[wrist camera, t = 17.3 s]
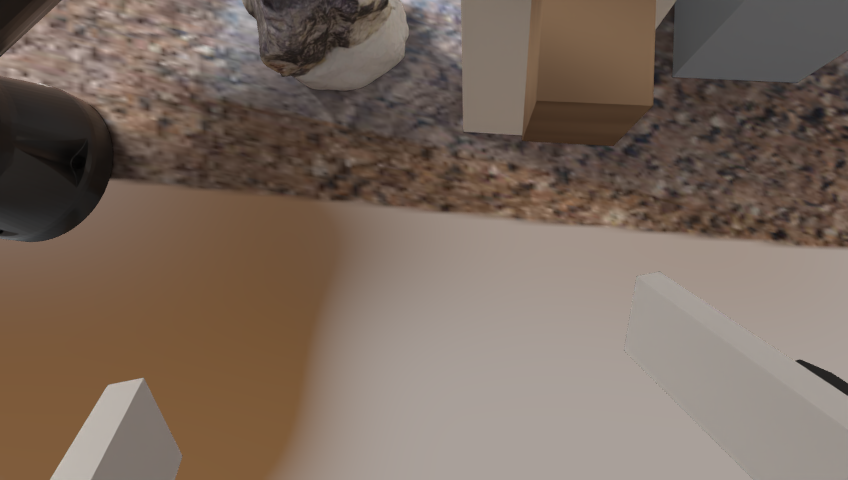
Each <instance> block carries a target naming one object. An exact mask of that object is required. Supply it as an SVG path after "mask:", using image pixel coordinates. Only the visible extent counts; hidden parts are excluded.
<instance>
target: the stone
mask: <svg viewBox="0 0 848 480" xmlns="http://www.w3.org/2000/svg"><path fill="white" fill-rule="evenodd" d="M242 2H243V4H244V6H245V8H246V10H247V11H248V13H249V14H250V15H252V16H253V17H254V18H255V19H256V20H257V26H258V33H259V45H260V57H261V60H262V62H263V63H264V64H265V65H266V66H267V67H269V68H271V69H273V70H274V71H276V72H278V73H280V74H281V75H282V77H285V76H293V77H294V78H296V79H297V80H298V81H300V82H301V83H303V84H304V85H306V86H307V87H309V88H312V89H317V90H327V89H331V90H341V91H346V90H354V89H359V88H362V87H364V86H367V85H368V84H370V83H372V82H373V81H374V80H376V79H377V78H379V77H381V76H382V75H384V74H385V73H386V72H388V71H389V70H391V69H392V68H393V67H394V66H396V65H397V64H398V63H399V62H400V61H401V60H402V59H403V58H404V57H405V42H406V41H407V38H408V37H409V28H408V25H407V22H406V13H405V11H404V9H403V6H402V3H401V1H400V0H242Z"/></svg>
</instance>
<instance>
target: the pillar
mask: <svg viewBox="0 0 848 480" xmlns="http://www.w3.org/2000/svg"><path fill="white" fill-rule="evenodd" d="M846 51H848V0H676V2H675V16H674V45H673V74H672V77H680V78H702V79H724V80H746V81H768V82H790V83H798V82H799V81H801V80H802V79H804V78H805V77H807V76H809V75H810V74H812V73H813V72H815V71H816V70H818V69H820V68H821V67H823V66H824V65H826V64H827V63H829V62H830V61H832V60H834V59H835V58H837V57H838V56H840V55H841V54H843V53H845V52H846Z"/></svg>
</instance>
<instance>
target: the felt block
mask: <svg viewBox="0 0 848 480" xmlns="http://www.w3.org/2000/svg"><path fill="white" fill-rule="evenodd" d="M675 2H676V0H656V23H655V30H656V28H657V27H658V26H659V24H660V23H661V21H662V20H663V19H664V17H665V16H666V14H667V13H668V12H669V10H670V9H671V7H672V6H673V5H674V3H675ZM530 15H531V0H461V21H462V90H463V132H476V133H492V134H508V135H522V132H523V117H524V103H525V88H526V73H527V59H528V44H529V30H530Z"/></svg>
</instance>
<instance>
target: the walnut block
mask: <svg viewBox="0 0 848 480" xmlns="http://www.w3.org/2000/svg"><path fill="white" fill-rule="evenodd" d="M655 23H656V0H531V15H530V30H529V44H528V59H527V73H526V88H525V103H524V117H523V132H522V141H531V142H550V143H568V144H586V145H605V146H614V145H615V144H616V143H617V142H618V141H619V140H620V139H621V138H622V137H623V136H624V135H625V134H626V133H627V132H628V131H629V130H630V129H631V128H632V127H633V126H634V125H635V124H636V123H637V122H638V121H639V120H640V118H641V117H642V116H643V115H644V114H645V113H646V112H647V111H648V110H649V109H650V108H651V107H652V106H653V92H654V58H655Z"/></svg>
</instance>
